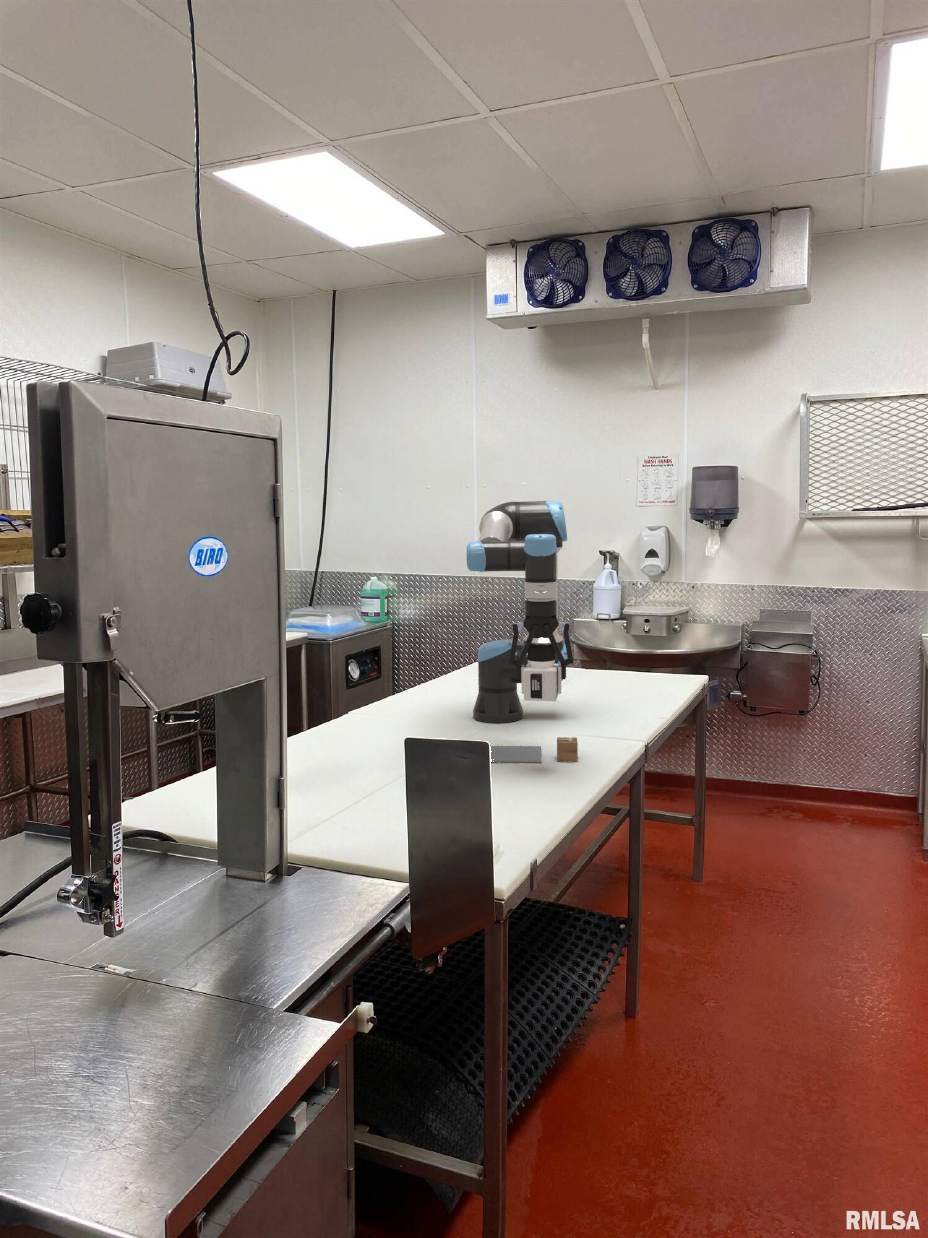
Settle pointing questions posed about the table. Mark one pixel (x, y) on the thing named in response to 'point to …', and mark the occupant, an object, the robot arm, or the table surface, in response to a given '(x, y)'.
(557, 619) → the robot arm
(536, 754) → the rubber mat
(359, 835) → the table surface
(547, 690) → the container
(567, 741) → the letter cube
